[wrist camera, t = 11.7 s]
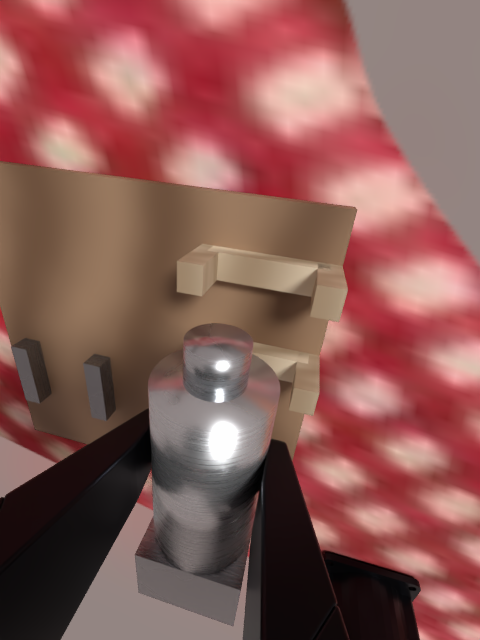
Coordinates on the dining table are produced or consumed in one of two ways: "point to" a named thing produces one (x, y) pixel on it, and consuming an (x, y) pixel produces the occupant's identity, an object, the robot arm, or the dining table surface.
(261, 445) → the grey piece
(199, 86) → the dining table surface
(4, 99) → the dining table surface
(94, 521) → the robot arm
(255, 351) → the rack
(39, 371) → the socket
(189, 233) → the board
